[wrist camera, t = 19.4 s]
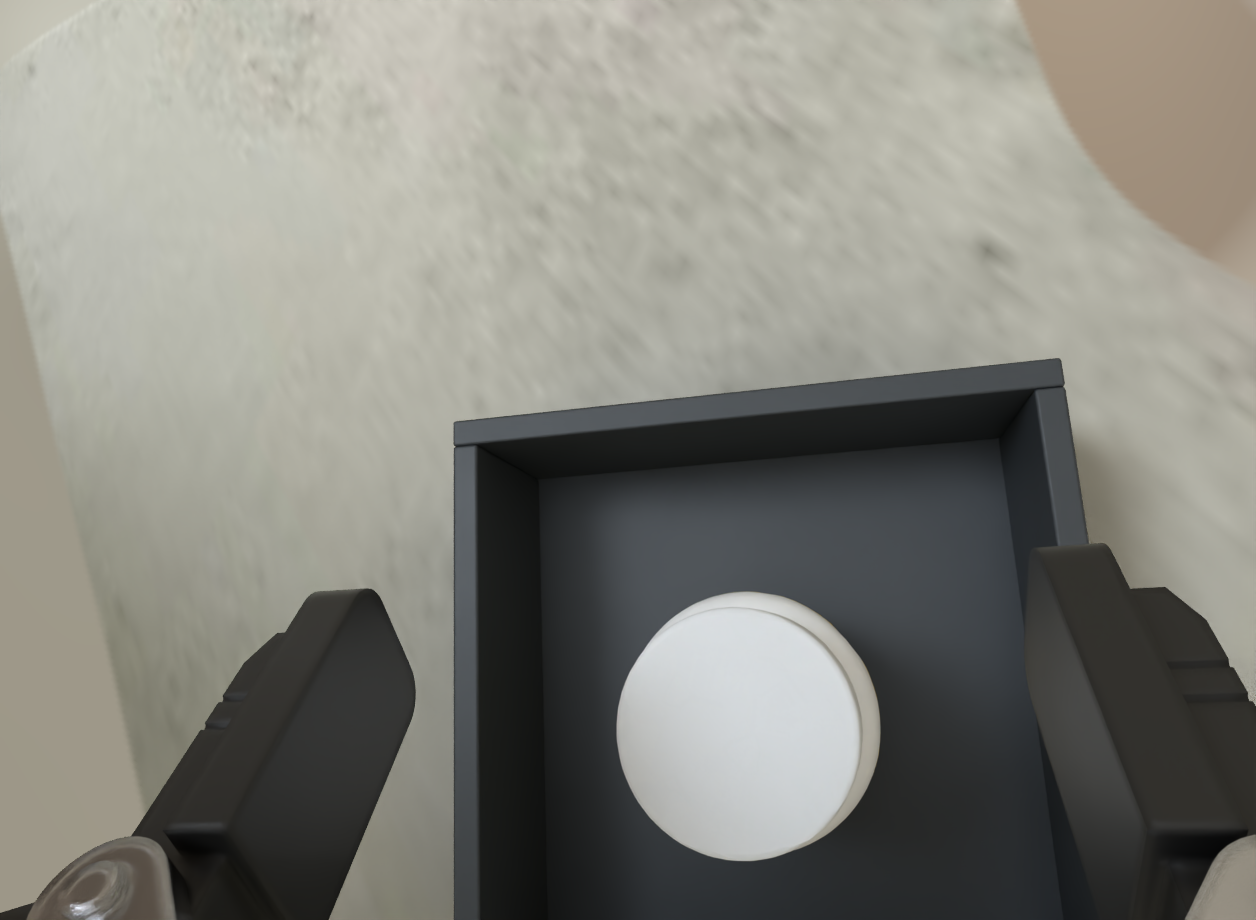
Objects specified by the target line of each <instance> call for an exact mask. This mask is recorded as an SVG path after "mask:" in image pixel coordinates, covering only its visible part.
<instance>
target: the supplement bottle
mask: <svg viewBox="0 0 1256 920" xmlns="http://www.w3.org/2000/svg"><path fill="white" fill-rule="evenodd" d="M880 734H881V732H880V713H879V706H878V701H877V696H876V693H875V689H874V686H873V683H872V681H871V678H870V675H869V673H868V670H867V668H866V666H865V665H864V663H863V661H862V660H861V658H860V657H859V656H858V654H857V653H856V652H855V650H854V649H853V648H852V647H851V645H850V644H849V643H848V641H847V640H846V639H845V638H844V637H843V636H842V635H841V634H840V633H839V632H838V631H837V629H836V628H835V627H834V626H833V625H832V624H831V623H830V622H828V621H827V620H826V619H825V618H823V617H822V616H821V615H819V614H818V613H816V612H815V611H813V610H811V609H810V608H808V607H806V606H804V605H802V604H800V603H798V602H796V601H794V600H791V599H788V598H785V597H782V596H778V595H772V594H766V593H759V592H733V593H726V594H722V595H717V596H714V597H710V598H707V599H705V600H702V601H700V602H697V603H695V604H693V605H691V606H690V607H688V608H686V609H685V610H683V611H682V612H680V613H679V614H677V615H676V616H674V617H673V618H672V619H671V620H669V621H668V622H667V623H666V624H665V625H664V626H663V627H662V628H661V629H660V630H659V631H658V632H657V633H656V634H655V636H654V637H653V638H652V639H651V641H650V642H649V643H648V645H647V646H646V648H645V649H644V651H643V652H642V653H641V655H640V656H639V658H638V659H637V661H636V662H635V664H634V666H633V667H632V669H631V671H630V672H629V675H628V677H627V679H626V682H625V685H624V687H623V690H622V693H621V698H620V702H619V706H618V714H617V745H618V750H619V756H620V761H621V765H622V769H623V771H624V774H625V777H626V779H627V782H628V784H629V786H630V788H631V790H632V792H633V794H634V796H635V798H636V799H637V801H638V803H639V804H640V805H641V807H642V808H643V809H644V811H645V812H646V813H647V815H648V816H649V817H650V818H651V819H652V820H653V821H654V822H655V823H656V824H657V825H658V826H659V827H660V828H661V829H662V830H663V831H664V832H665V833H667V834H668V835H669V836H670V837H672V838H673V839H674V840H676V841H678V842H679V843H681V844H682V845H684V846H686V847H688V848H690V849H692V850H695V851H697V852H699V853H702V854H705V855H707V856H711V857H715V858H720V859H724V860H732V861H756V860H763V859H769V858H773V857H777V856H780V855H782V854H785V853H788V852H791V851H793V850H796V849H800V848H802V847H804V846H807V845H809V844H811V843H813V842H815V841H817V840H818V839H820V838H822V837H824V836H825V835H827V834H828V833H829V832H831V831H832V830H833V829H835V828H836V827H837V826H838V825H839V824H840V823H841V822H842V821H844V820H845V819H846V818H847V816H848V815H849V814H850V813H851V812H852V811H853V809H854V808H855V807H856V805H857V804H858V802H859V801H860V800H861V798H862V796H863V795H864V793H865V791H866V789H867V787H868V785H869V783H870V780H871V778H872V776H873V773H874V770H875V767H876V763H877V760H878V756H879V746H880Z"/></svg>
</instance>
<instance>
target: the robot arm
mask: <svg viewBox="0 0 1256 920" xmlns="http://www.w3.org/2000/svg"><path fill="white" fill-rule="evenodd" d="M1024 660H1025V670H1026V678H1027V684H1028V689H1029V694H1030V698H1031V701H1032V705H1033V708H1034V711H1035V715H1036V718H1037V721H1038V724H1039V727H1040V731H1041V734H1042V737H1043V740H1044V744H1045V747H1046V750H1047V753H1048V756H1049V760H1050V763H1051V766H1052V769H1053V773H1054V776H1055V779H1056V782H1057V785H1058V789H1059V792H1060V795H1061V798H1062V801H1063V805H1064V808H1065V811H1066V814H1067V818H1068V821H1069V824H1070V827H1071V830H1072V834H1073V837H1074V840H1075V843H1076V846H1077V850H1078V853H1079V856H1080V859H1081V863H1082V866H1083V869H1084V872H1085V875H1086V879H1087V882H1088V885H1089V888H1090V892H1091V895H1092V898H1093V901H1094V904H1095V908H1096V911H1097V914H1098V917H1099V920H1256V706H1255V704H1254V703H1253V701H1249V699H1248V692H1247V690H1246V689H1245V687H1244V685H1243V683H1242V682H1241V680H1240V678H1239V676H1238V675H1237V673H1236V671H1235V669H1234V668H1233V667H1230V666H1229V659H1228V657H1227V656H1226V654H1225V652H1224V650H1223V649H1222V647H1221V645H1220V643H1219V642H1218V640H1217V638H1216V636H1215V635H1214V633H1213V631H1212V629H1211V628H1210V626H1209V624H1208V622H1207V621H1206V619H1204V618H1203V617H1202V616H1201V615H1199V614H1198V613H1197V612H1196V611H1194V610H1193V609H1192V608H1191V607H1189V606H1188V605H1187V604H1186V603H1184V602H1183V601H1182V600H1181V599H1179V598H1178V597H1177V596H1176V595H1174V594H1173V593H1172V592H1171V591H1169V590H1168V589H1167V588H1166V587H1157V588H1138V589H1130V588H1129V586H1128V584H1127V582H1126V580H1125V578H1124V576H1123V574H1122V572H1121V570H1120V568H1119V565H1118V563H1117V561H1116V559H1115V557H1114V555H1113V553H1112V552H1111V550H1110V548H1109V547H1108V546H1107V545H1106V544H1104V543H1098V544H1082V545H1067V546H1051V547H1035V548H1032V550H1031V552H1030V555H1029V563H1028V581H1027V600H1026V619H1025V637H1024ZM415 696H416V690H415V681H414V676H413V672H412V669H411V667H410V664H409V662H408V660H407V658H406V655H405V653H404V651H403V648H402V646H401V644H400V641H399V639H398V637H397V635H396V632H395V630H394V628H393V625H392V623H391V621H390V619H389V616H388V614H387V612H386V609H385V607H384V605H383V602H382V600H381V598H380V597H379V595H378V594H377V593H376V592H375V591H374V590H372V589H351V590H336V591H320V592H314V593H313V594H311V595H310V596H309V597H308V598H307V599H306V600H305V602H304V603H303V605H302V606H301V608H300V610H299V611H298V613H297V614H296V616H295V618H294V619H293V621H292V622H291V624H290V626H289V627H288V629H287V630H286V632H285V633H277V634H276V635H275V636H273V637H272V638H271V639H270V640H269V641H268V642H267V643H266V644H265V645H263V646H262V647H261V648H260V649H259V650H258V651H257V652H256V653H255V654H253V655H252V656H251V657H250V658H249V659H248V660H247V661H246V662H245V663H244V664H243V665H242V667H241V669H240V670H239V672H238V673H237V675H236V676H235V678H234V679H233V681H232V682H231V684H230V685H229V687H228V689H227V690H226V692H225V693H224V695H223V702H218V704H217V705H216V707H215V709H214V710H213V712H212V713H211V715H210V716H209V718H208V719H207V721H206V722H205V724H206V728H205V730H200V732H199V733H198V735H197V736H196V738H195V739H194V741H193V742H192V744H191V745H190V747H189V748H188V750H187V752H186V753H185V755H184V756H183V758H182V759H181V761H180V762H179V764H178V765H177V767H176V768H175V770H174V772H173V773H172V775H171V776H170V778H169V779H168V781H167V782H166V784H165V785H164V787H163V788H162V790H161V792H160V793H159V795H158V796H157V798H156V799H155V801H154V802H153V804H152V805H151V807H150V808H149V810H148V812H147V813H146V815H145V816H144V818H143V819H142V821H141V822H140V824H139V825H138V827H137V828H136V830H135V831H134V833H133V834H132V836H131V837H124V838H119V839H116V840H112V841H109V842H106V843H104V844H102V845H100V846H98V847H95V848H93V849H92V850H90V851H88V852H87V853H85V854H83V855H82V856H80V857H79V858H77V859H76V860H75V861H73V862H72V863H70V864H69V865H68V866H67V867H66V868H64V869H63V870H62V871H61V872H60V873H59V874H58V875H57V876H56V877H55V878H54V879H53V880H52V881H51V882H50V883H49V884H48V885H47V887H46V888H45V889H44V890H43V891H42V893H41V894H40V896H39V897H38V899H37V900H36V902H34V903H31V904H28V905H25V906H21V907H18V908H15V909H12V910H9V911H5V912H2V913H0V920H329V917H330V915H331V913H332V910H333V908H334V905H335V903H336V900H337V898H338V896H339V893H340V891H341V888H342V886H343V884H344V881H345V879H346V876H347V874H348V871H349V869H350V867H351V864H352V862H353V859H354V857H355V855H356V852H357V850H358V847H359V845H360V842H361V840H362V838H363V835H364V833H365V830H366V828H367V826H368V823H369V821H370V818H371V816H372V814H373V811H374V809H375V806H376V804H377V801H378V799H379V797H380V794H381V792H382V789H383V787H384V785H385V782H386V780H387V777H388V775H389V772H390V770H391V768H392V765H393V763H394V760H395V758H396V756H397V753H398V751H399V748H400V746H401V743H402V741H403V739H404V736H405V734H406V731H407V729H408V727H409V724H410V722H411V719H412V716H413V712H414V707H415Z"/></svg>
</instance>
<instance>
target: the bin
mask: <svg viewBox="0 0 1256 920" xmlns="http://www.w3.org/2000/svg"><path fill="white" fill-rule="evenodd" d="M1064 384H1065V382H1064V376H1063V369H1062V363H1061V360H1060V359H1059V358H1055V359H1046V360H1036V361H1027V362H1017V363H1008V364H998V365H989V366H979V367H970V368H960V369H951V370H941V371H932V372H922V373H913V374H903V375H894V376H884V377H875V378H865V379H856V380H846V381H837V382H827V383H818V384H808V385H799V386H789V387H780V388H770V389H761V390H751V391H742V392H732V393H723V394H713V395H704V396H694V397H685V398H675V399H666V400H656V401H647V402H637V403H628V404H618V405H609V406H599V407H590V408H580V409H571V410H561V411H552V412H542V413H533V414H523V415H514V416H504V417H495V418H485V419H476V420H466V421H457V422H454V446H456V447H455V448H454V920H1099V917H1098V914H1097V911H1096V908H1095V904H1094V901H1093V898H1092V895H1091V892H1090V888H1089V885H1088V882H1087V879H1086V875H1085V872H1084V869H1083V866H1082V863H1081V859H1080V856H1079V853H1078V850H1077V846H1076V843H1075V840H1074V837H1073V834H1072V830H1071V827H1070V824H1069V821H1068V818H1067V814H1066V811H1065V808H1064V805H1063V801H1062V798H1061V795H1060V792H1059V789H1058V785H1057V782H1056V779H1055V776H1054V773H1053V769H1052V766H1051V763H1050V760H1049V756H1048V753H1047V750H1046V747H1045V744H1044V740H1043V737H1042V734H1041V731H1040V727H1039V724H1038V721H1037V718H1036V715H1035V711H1034V708H1033V705H1032V701H1031V698H1030V694H1029V689H1028V684H1027V678H1026V670H1025V660H1024V637H1025V619H1026V600H1027V581H1028V563H1029V555H1030V552H1031V550H1032V548H1035V547H1051V546H1067V545H1082V544H1089V540H1088V534H1087V527H1086V521H1085V514H1084V508H1083V501H1082V495H1081V488H1080V482H1079V475H1078V468H1077V462H1076V455H1075V449H1074V442H1073V436H1072V429H1071V423H1070V416H1069V410H1068V403H1067V396H1066V390H1065V388H1064V387H1063V386H1064ZM733 592H759V593H766V594H772V595H778V596H782V597H785V598H788V599H791V600H794V601H796V602H798V603H800V604H802V605H804V606H806V607H808V608H810V609H811V610H813V611H815V612H816V613H818V614H819V615H821V616H822V617H823V618H825V619H826V620H827V621H828V622H830V623H831V624H832V625H833V626H834V627H835V628H836V629H837V631H838V632H839V633H840V634H841V635H842V636H843V637H844V638H845V639H846V640H847V641H848V643H849V644H850V645H851V647H852V648H853V649H854V650H855V652H856V653H857V654H858V656H859V657H860V658H861V660H862V661H863V663H864V665H865V666H866V668H867V670H868V673H869V675H870V678H871V681H872V683H873V686H874V689H875V693H876V696H877V701H878V706H879V713H880V732H881V734H880V746H879V756H878V760H877V763H876V767H875V770H874V773H873V776H872V778H871V780H870V783H869V785H868V787H867V789H866V791H865V793H864V795H863V796H862V798H861V800H860V801H859V802H858V804H857V805H856V807H855V808H854V809H853V811H852V812H851V813H850V814H849V815H848V816H847V818H846V819H845V820H844V821H842V822H841V823H840V824H839V825H838V826H837V827H836V828H835V829H833V830H832V831H831V832H829V833H828V834H827V835H825V836H824V837H822V838H820V839H818V840H817V841H815V842H813V843H811V844H809V845H807V846H804V847H802V848H800V849H796V850H793V851H791V852H788V853H785V854H782V855H780V856H777V857H773V858H769V859H763V860H756V861H732V860H724V859H720V858H715V857H711V856H707V855H705V854H702V853H699V852H697V851H695V850H692V849H690V848H688V847H686V846H684V845H682V844H681V843H679V842H678V841H676V840H674V839H673V838H672V837H670V836H669V835H668V834H667V833H665V832H664V831H663V830H662V829H661V828H660V827H659V826H658V825H657V824H656V823H655V822H654V821H653V820H652V819H651V818H650V817H649V816H648V815H647V813H646V812H645V811H644V809H643V808H642V807H641V805H640V804H639V803H638V801H637V799H636V798H635V796H634V794H633V792H632V790H631V788H630V786H629V784H628V782H627V779H626V777H625V774H624V771H623V769H622V765H621V761H620V756H619V750H618V745H617V714H618V706H619V702H620V698H621V693H622V690H623V687H624V685H625V682H626V679H627V677H628V675H629V672H630V671H631V669H632V667H633V666H634V664H635V662H636V661H637V659H638V658H639V656H640V655H641V653H642V652H643V651H644V649H645V648H646V646H647V645H648V643H649V642H650V641H651V639H652V638H653V637H654V636H655V634H656V633H657V632H658V631H659V630H660V629H661V628H662V627H663V626H664V625H665V624H666V623H667V622H668V621H669V620H671V619H672V618H673V617H674V616H676V615H677V614H679V613H680V612H682V611H683V610H685V609H686V608H688V607H690V606H691V605H693V604H695V603H697V602H700V601H702V600H705V599H707V598H710V597H714V596H717V595H722V594H726V593H733Z"/></svg>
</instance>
